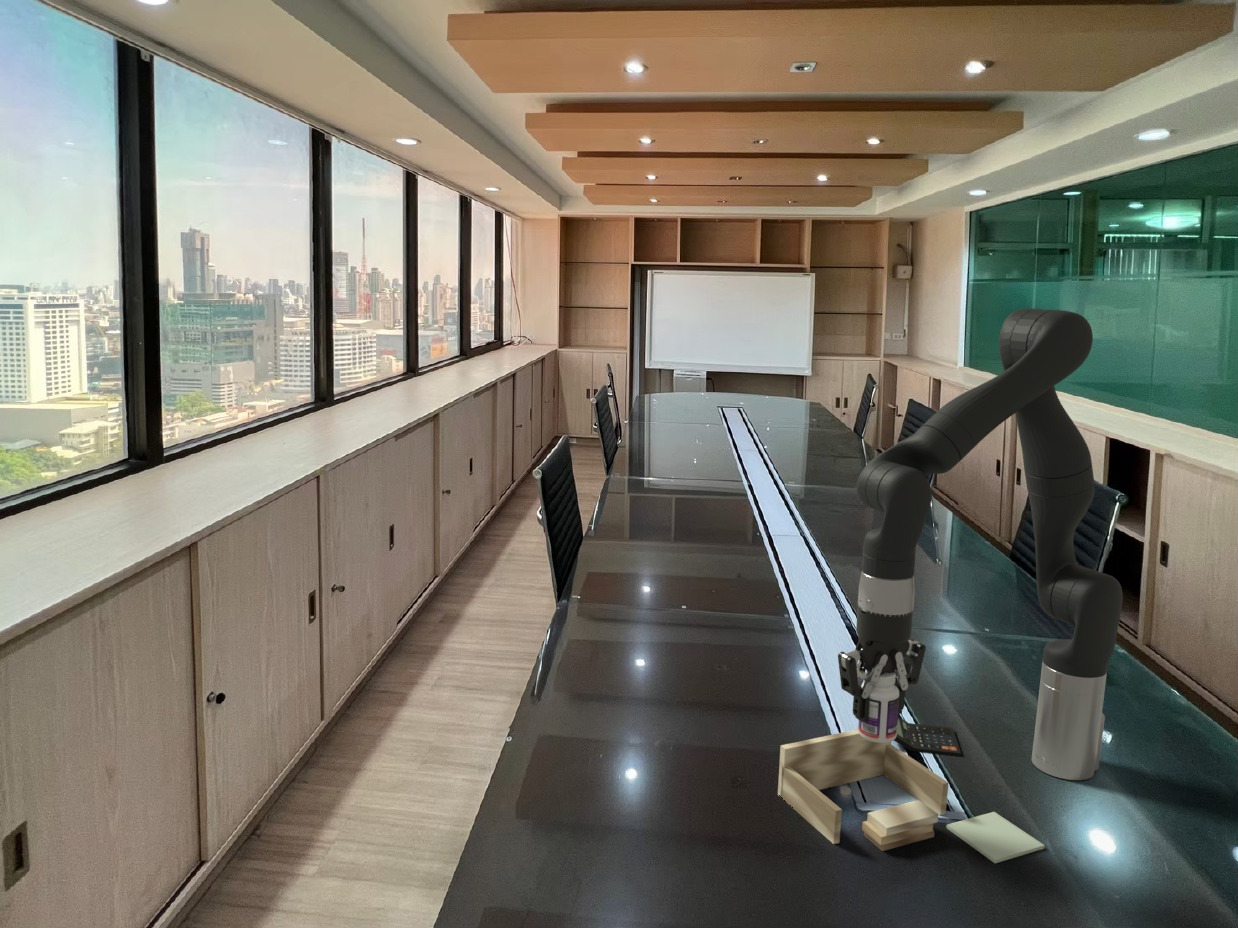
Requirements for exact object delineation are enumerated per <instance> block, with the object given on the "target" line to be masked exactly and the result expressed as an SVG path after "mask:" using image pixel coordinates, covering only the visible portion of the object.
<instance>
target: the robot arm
mask: <svg viewBox="0 0 1238 928" xmlns="http://www.w3.org/2000/svg"><path fill="white" fill-rule="evenodd" d="M1093 336H1094V335H1093V330H1092V326H1091V325H1090V322H1089V321H1088V319H1087V318H1085V317H1084V316H1083V315H1081V314H1080V313H1077V312H1073V311H1069V310H1062V309H1046V308H1043V309H1042V308H1020V309H1017V310H1014V311H1013V312H1011V313H1010V314H1009V315H1007V317H1006V318H1005V319H1004V321H1003V322H1002V325H1001V329H1000V332H999V337H998V339H999V340H998V347H999V355H1000V360H1001V366H1002V369H1003V371H1002V372H1001V373H1000V374H997V375H996V376H995V377H993V378H991V379H989V380H988V381H985V382H984V383H983V382H982V383H981V384H979V385H977V386H975V387H973V388H971V389H969V390H967V391H965V392H963V393H961V394H959V395H958V396H956V397H954V398H952V399H951V400H950V401H948V402H946V404H944V405H943V406H941V408H939V410H937V411H936V412H935V413H934V414H933V415H931V417H929V418H928V419H927V420H926V421H925V423H923V424H922V425H921V426H920V427H919V428H918V429H917V430H916V431H915V433H913V434H912V435H910V436H908V437H906V438H904V439H903V440H900V441H899V442H897V443H896V444H895V443H894V445H892V446H891V447H889V448H887V449H885V450H884V451H882V452H881V453H880V454H878V455H876V456H875V457H874V458H872V459H871V460H870V461H869V462H868V463H867V464H866V465H865V466H864V467H863V469H861V472H860V474H859V476H858V479H857V480H856V481H857V482H856V494H857V496H858V498H859V500H860V501H861V502H862V504H864V505H865V506H867V507H868V508H871V509H873V510H875V511H878V512H881V513H883V514H884V515H883V516H884V517H883V522H882V524H881V527H879V528H878V527H877V528H874V529H871V530H870V531H868V532H867V533H866V534H865V536H864V539H863V546H862V547H863V548H862V561H861V562H862V563H861V573H860V574H861V575H860V579H859V584H858V596H857V612H856V627H855V628H856V634H857V636H858V638H857V639H858V642H857V644H856V646H855V649H854V650H852V651H850V652H845V651H839V653H838V654H837V659H838V669H839V678H840V686H841V689H842V690H843V691H845V692H847V693H848V694H849V695H851V696H853V698H852V699H853V701H852V713H853V716H854V717H855V718H856V720H858V721H859V720H860V721H861V722H866V721H868V717H869V702H870V698H869V697H868V696H869V694H870V691H871V689H872V686H873V685H874V684H876V683H877V681H878V678H879V676H880V675H882V674H884V673H893V672H894V671H895V674H896V675H895V684H894V685H895V686H896V687H897V688H898V689H899V709H898V715H901V714H902V712H903V710H904V708H905V702H906V690H908V688H909V686H910V685H912V684H913V685H916V684H918V682H919V678H920V675H921V670H922V665H923V661H924V657H925V652H926V649H927V647H926V645H925V644H923V643H921V642H919V641H917V640H915V639H913V638H911V637H912V634H913V633H912V632H913V618H914V609H915V608H914V605H915V592H916V591H915V567H916V549H917V545H918V542H919V540H920V538H921V535H922V532H923V530H924V526H925V523H926V521H927V518H928V515H929V512H930V508H931V503H932V489H931V484H930V482H929V479H928V478H927V475H941V474H945V473H947V472H948V473H949V471H951V470H952V469H953V468H954V467H956V466H957V465H958V464H959V462H961V461H962V460H963V459H964V458H965V457H966V456H967V455H968V454H969V453H970V452H971V451H973V449H974V448H975V447H977V446H978V445H979V443H981V442H982V441H983V440H984V439H985V438H986V437H987V436H988V435H989V434H990V433H992V432H993V431H994V430H995V429H996V428H997V427H999V426H1000V425H1001V424H1002V423H1004V422H1005V421H1007V420H1008V419H1009V418H1011V417H1012V416H1013V415H1015V419H1016V424H1017V429H1018V435H1019V441H1020V446H1021V452H1022V459H1023V469H1024V471H1023V472H1024V476H1025V477H1024V478H1025V483H1026V489H1027V494H1028V499H1029V504H1030V510H1031V519H1032V526H1033V535H1034V545H1035V546H1034V547H1035V569H1036V571H1035V572H1036V574H1035V575H1036V590H1037V591H1036V592H1037V598H1038V602H1039V604H1040V605H1039V606H1040V607H1041V609H1042V610H1043V611H1044V613H1045V614H1047V615H1048V616H1050V617H1052V618H1053V619H1056V620H1058V621H1061V622H1064V623H1066V624H1069V625H1072V626H1073V627H1074V631H1073V636H1072V638H1071V639H1070V638H1069V639H1068V638H1066V639H1064V638H1063V639H1056V640H1055V639H1054V640H1051V641H1049V642H1047V643H1046V644H1045V646H1044V648H1043V654H1042V663H1041V672H1040V683H1039V688H1038V689H1039V692H1038V698H1037V699H1038V700H1037V709H1036V716H1035V717H1036V718H1035V727H1034V737H1033V743H1032V744H1033V745H1032V754H1031V763H1032V765H1034V766H1035V767H1036V768H1037V769H1038V770H1040V771H1041V772H1043V773H1045V774H1047V775H1050V776H1052V777H1055V778H1059V779H1063V780H1068V781H1083V780H1089V779H1091V778H1093V776H1094V775H1095V772H1096V771H1098V770H1099V769H1100V768H1099V766H1100V760H1101V751H1102V743H1103V735H1104V729H1105V728H1104V726H1105V719H1106V716H1105V714H1104V713H1103V708H1104V698H1105V689H1106V683H1107V682H1106V681H1107V674H1108V673H1107V672H1108V668H1109V667H1108V666H1109V663H1110V661H1111V658H1112V656H1113V653H1114V650H1115V646H1116V643H1117V642H1116V641H1117V635H1118V631H1119V624H1120V619H1121V614H1122V609H1123V599H1124V597H1123V589H1122V585H1121V583H1120V582H1119V580H1118V579H1117V578H1115V577H1114V576H1113V575H1109V574H1108V573H1104V572H1101V571H1098V570H1094V569H1092V568H1089V567H1085V566H1082V565H1079V564H1078V562H1077V559H1076V555H1075V547H1074V546H1075V545H1074V535H1075V532H1076V530H1077V527H1078V526H1079V524H1080V522H1081V521H1082V520H1083V518H1084V517H1085V515H1086V514H1087V511H1088V510H1089V508H1090V506H1091V504H1092V503H1093V499H1094V496H1095V491H1096V490H1095V489H1096V488H1095V478H1094V470H1093V462H1092V455H1091V452H1090V449H1089V446H1088V444H1087V442H1086V440H1085V438H1084V436H1083V435H1082V433H1081V432H1080V430H1079V429H1078V427H1077V426H1076V424H1075V423H1074V421H1073V420H1072V418H1071V417H1070V415H1069V414H1068V412H1067V411H1066V409H1065V407H1064V406H1063V404H1062V403H1061V401H1060V399H1059V397H1058V393H1057V390H1056V387H1055V386H1056V385H1057V384H1060V383H1061V382H1062V381H1063V380H1065V379H1066V378H1068V377H1069V376H1070V375H1072V374H1073V373H1074V372H1076V371H1077V370H1078V369H1079V368H1080V367H1081V366H1082V365H1083V364H1084V362H1085V361H1086V360H1087V358H1088V357H1089V355H1090V352H1091V351H1092V346H1093V338H1094V337H1093ZM867 671H869V672H871V674H870V675H868V674H866V673H867ZM863 683H864V685H863V687H861V686H862V684H863Z"/></svg>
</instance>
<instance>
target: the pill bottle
mask: <svg viewBox="0 0 1238 928" xmlns="http://www.w3.org/2000/svg"><path fill="white" fill-rule="evenodd" d="M866 674H868V675H870V674H871V672H869V671H867V670H866ZM895 675H896V674H895V671H894V672H893V673H884V674H882V675H880V676H879V678H878V681H877V683H876V684H874V685H873V686H872V689H871V691H870V694H869V696H868V697H869V698H870V702H869V717H868V721H866V722H861V721H860V720H858V731H859V734H860V735H861V736H862V737H863V738H864V739H866V740H869V741H872V742H877V743H886V742H891V743H892V742H893V741H894V739H895V738H896V736H897V725H898V717H899V714H898V709H899V689H898V688H897V687H896V686H895V685H894V684H895ZM863 685H864V682H863V683H862V686H861V687H863Z"/></svg>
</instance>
